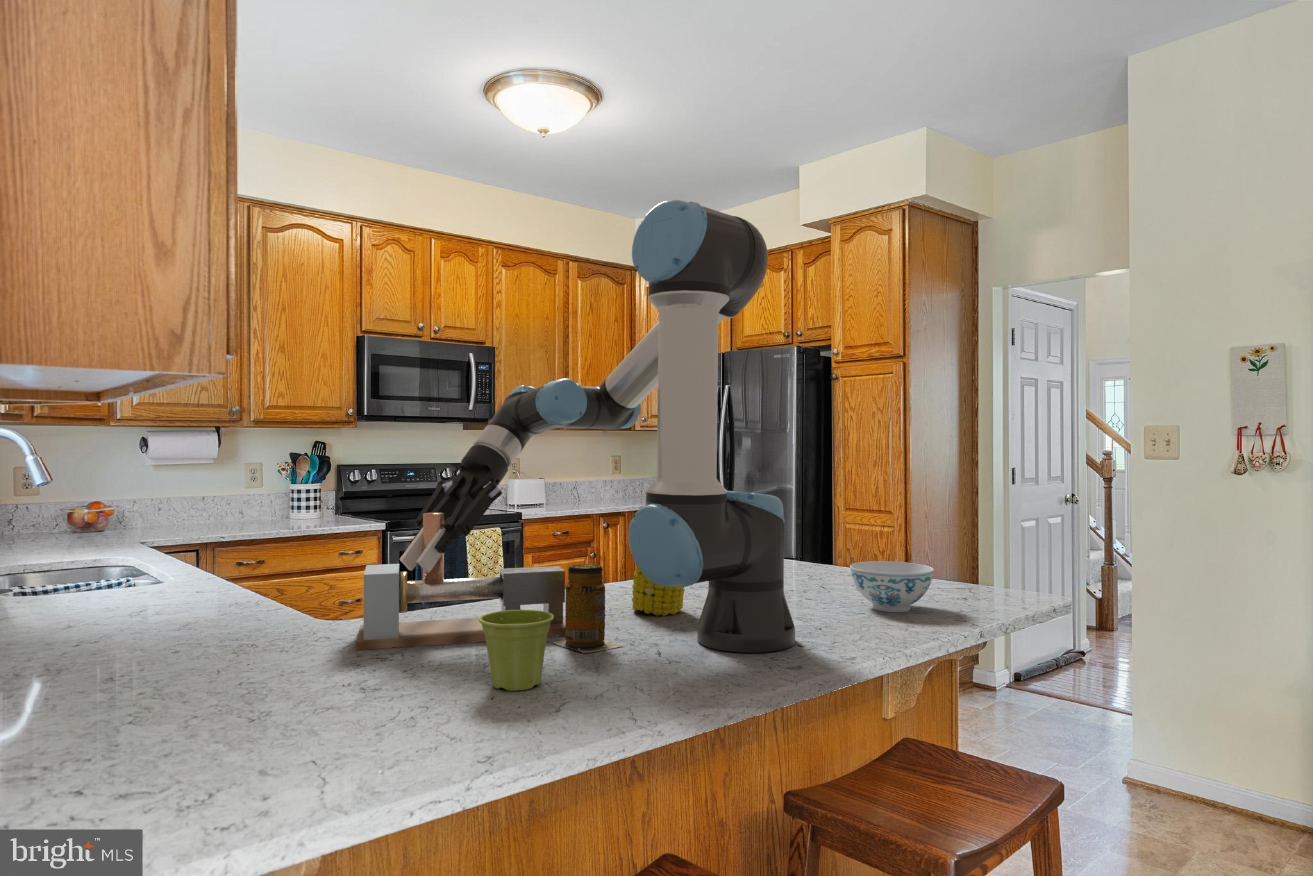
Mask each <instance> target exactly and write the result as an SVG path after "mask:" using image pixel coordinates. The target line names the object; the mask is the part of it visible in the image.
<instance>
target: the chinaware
mask: <svg viewBox="0 0 1313 876" xmlns="http://www.w3.org/2000/svg"><path fill="white" fill-rule="evenodd" d="M849 568H850V573H851V577H852V580H853V583H854V586H855V587H856V588H857V590H858V592H859V593H860V594H861V595H862V596H863V597H864V598H865V599H866V600H867V601H869V602H870V603H872V608H873V610H876V611H879V612H888V613H905V612H909V611H911V605H914V604H915V603H917V602H918V601H919V600H921V598H923V597H924V596H925V594H926V593H927V592H928V590H929V588H930V586H931V583H932V581H933V577H934V573H935V569H934V568H933V567H931V566H930V565H926V564H922V563H921V564H919V563H914V562H904V561H888V560H887V561H885V560H884V561H883V560H880V561H879V560H878V561H877V560H876V561H875V560H874V561H873V560H872V561H871V560H870V561H861V562H860V561H859V562H855V563H854V562H853V563H851V564H850V566H849Z"/></svg>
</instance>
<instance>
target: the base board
mask: <svg viewBox="0 0 1313 876" xmlns="http://www.w3.org/2000/svg"><path fill="white" fill-rule="evenodd" d="M565 620H566V619H565V618H564V617H563V623H560V624H550V628H549V631H548V632H547V638H549V637H564V636H565ZM356 637H357V638H356V641H355V651H365V650H380V649H382V650H383V649H393V648H392V647H397V648H407V647H409V648H410V647H421V646H422V647H423V646H436V645H437V646H438V645H451V644H452V645H453V644H465V643H479V642H486V637H485V634H484V633H483V628H482V624H481V623H480V622H479V617H467V618H465V617H464V618H450V619H449V618H448V619H435V620H433V619H432V620H419V621H416V620H415V621H402V622H401V621H399V638H389V639H374V640H363V639H364V624H360V625H359V630H358V633H357V636H356Z"/></svg>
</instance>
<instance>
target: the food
mask: <svg viewBox="0 0 1313 876" xmlns="http://www.w3.org/2000/svg"><path fill="white" fill-rule="evenodd" d="M634 568H635V570H634V572H633V580H632V581H633V584H632V591H631V592H632V595H633V596H632V598H631V602H632V609H633V611H643V612H644V613H645V614H653V615H655V616H656V617H657V616H663V617H665V616H667V615H674V616H675V615H677V613H680V612H681V611H682V610H683V607H684V606H683V605H684V604H683V603H684V593H685V587H682V586H674V587H664V586H660V585H657V584H655V583H653V582H652V581H650V580H649V579H648V578H646V577H645V576H644V574H643V573H642V571H641V569H640V568H638V567H637V565H636V564H635V566H634Z"/></svg>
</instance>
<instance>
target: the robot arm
mask: <svg viewBox="0 0 1313 876" xmlns="http://www.w3.org/2000/svg"><path fill="white" fill-rule="evenodd" d="M631 260H632V265H633V267H634V269H635V270H636V271H637V274H638V275H639V276H640V278H643V280H644V281H646V282H648V301H649V302H650V303H651V304H652V305H653V306H654V307H655V309H656V310H657V311H658V321H657V322H656V323H655V324H654V325H653V326H652V327H651V328H650V330H649V331H648V332H647V333H646V334H645V335H644V336H643V337H642V339H641V340H640V341H638V343H637V344H636V345H635V346H634V348H632V350H631V351H630V352H629V353H628V354H626V356H625V357H624V358H623V360H622V361H621V362H619V364H618V365H617V366H616V367H615V368H613V370H612V371H611V373H609V375H607V377H606V378H605V379H604V380H603V381H602V382H601V383H600V384H599V385H598V386H584V385H583V386H582V385H581V384H580V383H577V382H576V381H575V380H574V379H571V378H559V379H557V380H552V381H549V382H546V383H545V384H543V385H542V386H539V387H537V388H536V387H533V386H530V385H529V386H526V385H519V386H517V387H515V388H514V389H513V390H512V391H511V393H509V394H508V395H507V396H506V397H505V400H504V401H503V403H502V404H501V405H500V407H499V408H498V410H497V411H496V412H495V414H494V415H493V417H492V418H490V421H489V422H488V423H487V425H486V426H485V428H483V430H482V431H481V432H480V434H479V435H478V437H477V438H476V439H475V441H474V442H473V443H472V444H473V445H472V446H471V447H470V448H469V449H468V451H467V452H466V454H465V455H464V456H463V457H462V459H461V461H460V471H459V472H458V473H457V474H456V475H455V476H453V479H452V480H450V481H446V482H445V480H444V479H440V480H438V482H437V483H436V487H435V490H434V491H433V493H432V495H431V496H430V498H429V499H428V501H427V502H426V504H425V505H424V507H423V508H422V510H421V511H420V513H419V514H418V516H417V518H416V519H415V520H414V522H413V523H414V524H415V526H416V527H417V528H418V529H419V530H418V531H417V533H416V534H415V535H414V537H413V538H412V539H411V541H410V543H409V545H408V547H407V548H406V550H405V551H404V553H402V555H401V556H400V558H399V560H400V562H401V563H402V564H403V565H404V567H406V569H407V570H408V571H413V570H414V569H415V567H416V566H417V565H419V567H421V568H422V570H423V569H424V570H425V572H428V573H429V572H430V571H431V570H432V568H433V567H434V565H435V564H436V562H437V561H438V559H439V558H440V556H441V555H442V554H443V553H444V554H445V552H446V551H447V550H448V548H450V545H451V544H452V543H453V541H454V540H456V539H458V538H459V537H460V536H462V537H464V538H465V537H468V536H469V535H470V534H471V532H472V531H473V530H474V528H475V527H476V525H477V524H478V523H479V521H480V520H481V519H482V517H484V515H485V514H486V512H487V511H488V509H489V508H490V507H491V505H492V504H493V503H494V502H495V501H496V500H497V499H498V498H499V497H501V495H502V494H503V491H502V490H501V489H500V488H499V485H500V483H501V482H502V480H503V479H504V477H505V476H506V474H507V473H508V471H509V470H510V468H511V467H512V465H513V464H514V462H515V461H516V459H517V458H518V456H519V455H520V453H522V451H523V450H524V448H525V446H526V445H527V443H529V440H530V439H531V438H532V437H533V436H536V435H539V434H540V435H541V434H543V433H545V432H547V431H550V430H555V429H595V430H596V429H597V430H598V429H599V430H612V431H614V430H615V431H617V430H621V429H622V430H623V429H628V428H631V427H633V426H634V425H635V424H636V423H637V421H638V419H639V416H640V414H641V403H642V402H643V401H644V400H645V399H646V398H647V397H648V396H649V395H650V394H651V393H652V392H653V391H654V390H655V389H656V388H657V422H656V424H657V425H656V426H657V427H656V428H657V431H656V432H657V434H656V449H657V450H656V478H655V479H654V481H653V482H652V483H651V484H650V485H649V486H648V487H647V488H646V489H645V504H644V506H643V507H641V508H639V509H638V510H637V511H636V512H635V513H634V517H633V518H632V519H631V520H630V523H629V527H628V546H629V550H630V553H631V556H632V560H633V562H634V563H635V566H636V565H637V567H638V568H640V569H641V571H642V573H643V574H644V576H645V577H646V578H648V579H649V580H650V581H652V582H653V583H655V584H657V585H660V586H664V587H674V586H682V587H684V588H686V587H690V586H693V585H695V584H700V583H704V582H706V583H707V582H708V591H707V594H706V598H705V600H704V604H703V607H702V610H701V614H700V616H699V620H698V623H697V627H696V628H697V629H696V630H697V632H696V633H697V635H696V639H697V642H698V643H699V644H700V645H702V646H705V647H707V648H710V649H713V650H719V651H724V652H733V653H734V652H735V653H747V654H748V653H755V654H756V653H770V652H777V651H782V650H786V649H789V648H791V647H793V646H794V645H795V644H796V626H795V623H794V620H793V617H792V614H791V610H790V608H789V604H788V601H787V597H786V595H785V591H784V590H785V589H784V588H785V587H784V586H785V583H784V580H785V567H784V566H785V564H784V563H785V523H786V520H785V517H784V516H785V515H784V514H785V513H784V504H783V502H782V500H781V499H780V498H779V497H778V496H777V495H773V494H772V495H771V494H766V493H765V494H764V493H757V492H746V491H734V490H727V489H726V488H725V487H724V486H723V485H722V484H721V482H720V481H719V480H718V478H717V475H718V474H717V471H718V469H717V468H718V467H717V464H718V463H717V461H718V460H717V459H718V455H717V454H718V399H719V397H718V395H719V394H718V393H719V392H718V388H719V387H718V384H719V383H718V380H719V379H718V378H719V324H721V322H722V321H724V319H733V318H735V317H736V316H737V315H738V314H740V312H742V310H743V309H744V308H746V306H747V305H748V304H749V303H750V302H751V300H752V299H753V298H754V296H755V295H757V293H758V291H759V289H760V288H761V286H762V284H763V282H764V279H765V278H766V274H767V271H768V265H769V252H768V247H767V243H766V240H765V239H764V237H763V234H762V233H761V232H760V230H759V229H758V228H757V227H756V226H755V225H754V224H753V223H751V222H750V221H748V220H746V219H745V218H742V217H739V216H736V215H731V214H728V213H724V212H721V211H718V210H716V209H713V208H709V207H706V206H703V205H701V204H699V203H698V202H694V201H684V200H680V199H669V200H664V201H662V202H660V203H658V204H657V205H656V204H655V206H654V207H653V208H651V209H650V210H649V211H648V212H647V213H646V215H645V216H644V218H643V220H641V221H640V223H639V225H638V227H637V229H636V231H635V233H634V237H633V242H632V247H631ZM424 513H444V524H442V526H443V527H444V530H443V529H439V530H438V531H437V533H436V534H435V536H434V537H433V539H432V540H431V541H430V543H429V544H428V546H427V547H426V548H425V550H424V551H423V514H424ZM447 519H448V521H447ZM446 521H447V522H446ZM445 522H446V523H445Z"/></svg>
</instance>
